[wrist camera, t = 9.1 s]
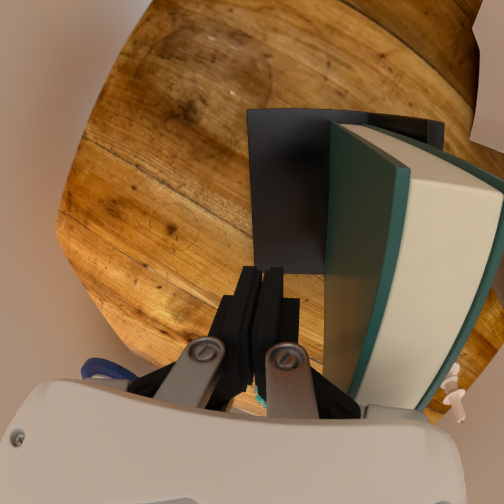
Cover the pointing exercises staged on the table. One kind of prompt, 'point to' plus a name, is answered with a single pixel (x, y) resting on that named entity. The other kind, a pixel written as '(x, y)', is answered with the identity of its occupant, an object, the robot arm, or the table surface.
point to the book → (403, 263)
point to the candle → (454, 392)
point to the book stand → (304, 179)
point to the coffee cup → (499, 282)
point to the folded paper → (490, 76)
